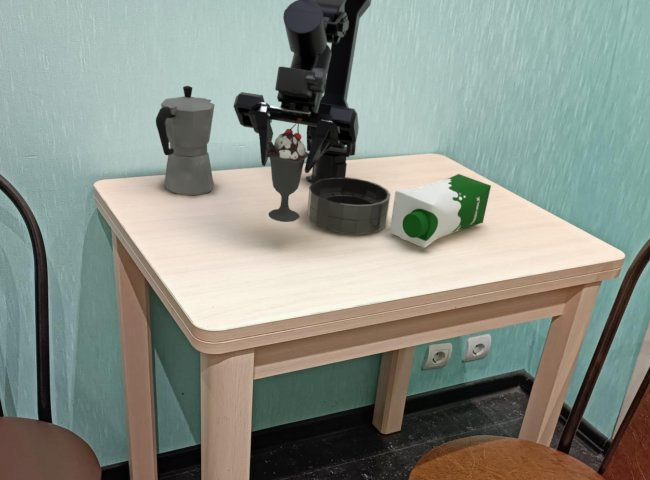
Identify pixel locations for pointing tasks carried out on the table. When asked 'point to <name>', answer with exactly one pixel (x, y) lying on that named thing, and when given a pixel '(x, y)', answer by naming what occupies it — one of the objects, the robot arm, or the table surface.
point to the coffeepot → (186, 143)
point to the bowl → (348, 205)
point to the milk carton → (438, 209)
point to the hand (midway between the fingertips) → (284, 168)
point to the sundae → (286, 170)
